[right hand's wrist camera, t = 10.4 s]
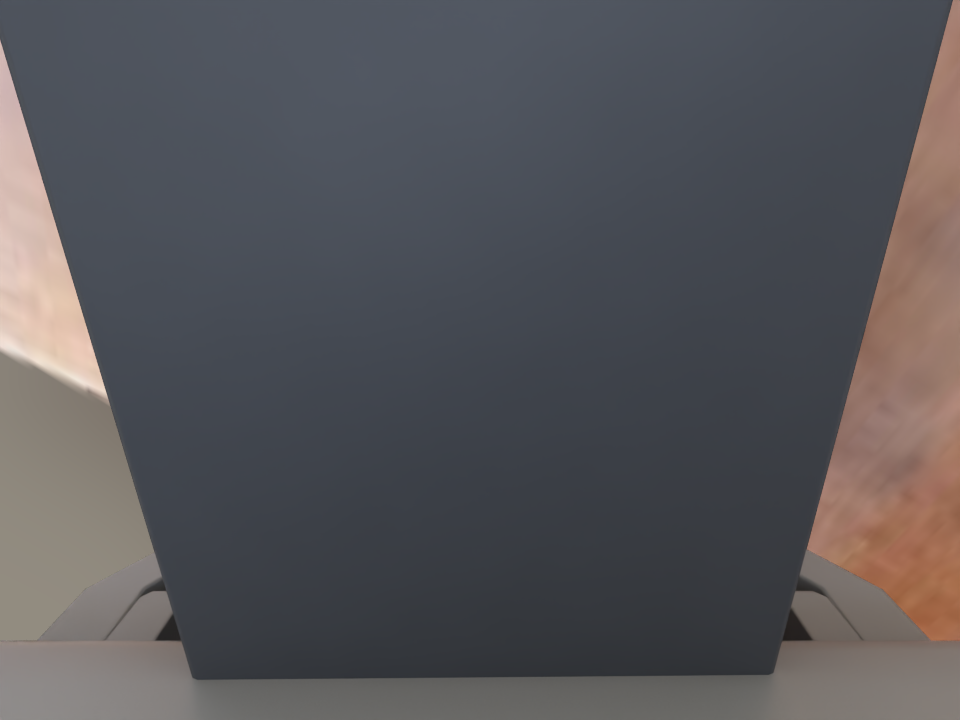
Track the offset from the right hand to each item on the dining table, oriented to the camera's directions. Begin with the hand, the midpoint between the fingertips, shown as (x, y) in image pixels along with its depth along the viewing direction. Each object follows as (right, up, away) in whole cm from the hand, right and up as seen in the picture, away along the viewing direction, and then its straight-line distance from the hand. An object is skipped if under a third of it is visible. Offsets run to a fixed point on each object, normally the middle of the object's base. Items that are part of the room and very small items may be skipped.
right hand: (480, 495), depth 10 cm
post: (0, +20, -4) cm, 21 cm away
